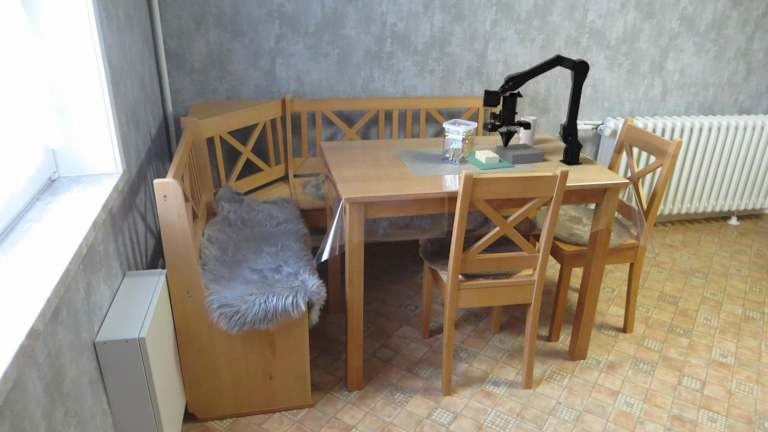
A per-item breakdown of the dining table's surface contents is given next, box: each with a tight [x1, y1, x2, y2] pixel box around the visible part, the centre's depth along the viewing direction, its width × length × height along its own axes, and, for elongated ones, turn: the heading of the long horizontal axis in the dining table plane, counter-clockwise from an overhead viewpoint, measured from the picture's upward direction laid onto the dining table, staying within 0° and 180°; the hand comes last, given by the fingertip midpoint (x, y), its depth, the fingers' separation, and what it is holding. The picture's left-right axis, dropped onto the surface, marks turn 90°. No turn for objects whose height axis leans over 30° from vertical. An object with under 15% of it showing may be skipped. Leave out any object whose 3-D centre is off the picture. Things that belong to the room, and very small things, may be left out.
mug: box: [513, 115, 538, 147], centre depth 240 cm, size 10×7×12 cm, turn 102°
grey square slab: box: [494, 143, 545, 166], centre depth 221 cm, size 14×14×4 cm
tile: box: [474, 149, 499, 164], centre depth 218 cm, size 9×6×3 cm, turn 16°
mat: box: [464, 152, 515, 171], centre depth 218 cm, size 20×14×1 cm
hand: (504, 147), depth 218 cm, fingers closed
